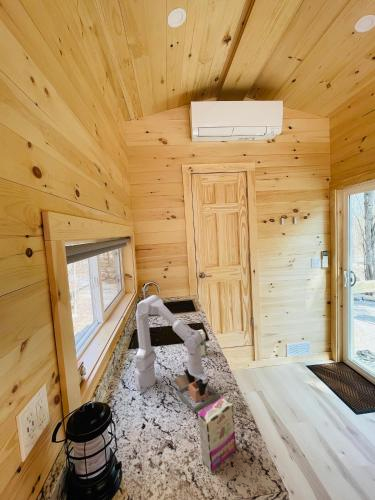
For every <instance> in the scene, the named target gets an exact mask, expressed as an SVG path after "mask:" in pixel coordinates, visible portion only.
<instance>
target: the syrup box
mask: <svg viewBox="0 0 375 500" xmlns="http://www.w3.org/2000/svg"><path fill="white" fill-rule="evenodd" d="M197 331H199V333H200V334H201V335H202V341H201V342H200V345H201V358H203V357H206V356H208V354H207V353H208V352H207V343H206V339H207V338H206V332H205V331H204V330H203V329H199V330H197Z"/></svg>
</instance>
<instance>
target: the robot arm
mask: <svg viewBox="0 0 375 500" xmlns="http://www.w3.org/2000/svg"><path fill="white" fill-rule="evenodd" d="M150 315H151V316H152V315H153V316H154V315H155V316H156V315H159V316H160V317H161V318H162V319H164V320H165V321H166V322H167V323H168V324H170V325H171V326H172V331H173V332H174V333H176V334H177V336H179V338H180V339H182V340H183V341H184V342H183V343H184V346H185V348H186V349H187V351H186V352H187V359H188V361H187V362H184V366H185V368H186V369H184V371H183V373H185V374H186V376H187V378H188V381H189V384H190V383H192V382H194V381H195V377H196V378H197V379H200V380H198V381H196V384H197V386H198V389H199V394H200V396H203V395H204V394H205V390H206V391H207V387H206V386H207V384H208V385H209V382H210V379H209V377H208V376H207V375H206V373H205V371H204V370H205V366H203V361H202V358H203V357H201V345H200V342H201V341H202V335H201V334H200V333H199V331H197V330H195V329H193V328H191V327H190V326H189V325H188V324H187V323H186V321H184V320H182V319H178V318H177V317H176V316H175V315H174V314H173V313H172V312H171V311H170V310H169V308H167V306H165V305H164V301H163V299H161V298H160V297H159V296H158V295H156V294H152V295H150V296H149V297H147V298H145V299H143V300H140V301H139V302H138V303H137V304H136V311H135V319H136V330H137V340H138V350H137V353H136V355H135V362H134V364H135V368H136V370H134V372H133V373H134V374H133V375H134V383H135V384H134V385H135V387H136V388H137V390H138V392H139V393H140V394H143V393H145V392H147V389H146V388H150V387H152V386H154V385H155V384H156V381H157V380H156V369H155V363H156V362H155V361H156V360H157V352H155V347H153V345H151V336H150V335H151V334H150V324H149V316H150ZM185 374H184V375H185Z"/></svg>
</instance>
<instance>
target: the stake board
mask: <svg viewBox="0 0 375 500" xmlns="http://www.w3.org/2000/svg"><path fill="white" fill-rule="evenodd" d="M198 379H199V378H197V377H195V381H196V380H198ZM172 381H173V382H174V384H175V385H176V386H177V387H178V389H180V388H182V387H184V386H186V385H188V384H189V381H188V378H187V376H186V374H184V375H181V376H179V377H178V378H175V379H173V380H172Z"/></svg>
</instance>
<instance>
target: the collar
mask: <svg viewBox="0 0 375 500" xmlns="http://www.w3.org/2000/svg"><path fill="white" fill-rule="evenodd" d="M197 381H198V380H197ZM188 386H189V389H188V394H189V396H190V397H191V398H192V399H193V400H194V401H195V403H196V402H199V401H201V400H202V399H204V398H206V397H207V389H206V390H205V394H204V395H203V396H200V394H199V389H198V386H197V384H196V381H194V382H192V383H190V384H188Z"/></svg>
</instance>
